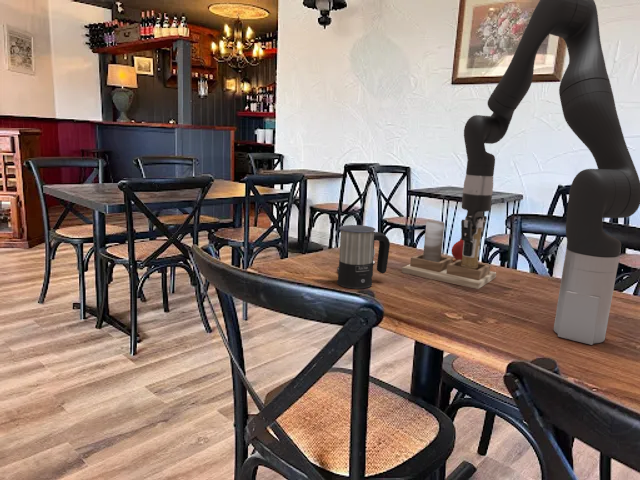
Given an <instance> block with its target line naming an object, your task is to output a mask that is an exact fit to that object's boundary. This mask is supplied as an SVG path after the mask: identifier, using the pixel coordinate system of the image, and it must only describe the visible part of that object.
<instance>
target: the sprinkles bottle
mask: <svg viewBox="0 0 640 480" xmlns="http://www.w3.org/2000/svg"><path fill="white" fill-rule="evenodd" d="M482 226H483V221H482V220H481V222H480V224H479V225H478V232H477V235H475V237H474V242H473V250H472V256H464V255H463V253H462V264H461V266H462V267H465V268H470V269H477V268H478V263H479V255H480V248H481V246H480V245H481V239H482V237H481V229H482ZM474 230H475V229H474ZM474 230H473V229H472V231H474ZM467 237H469V234H468V236H467ZM480 238H481V239H480ZM463 251H464V243H463Z"/></svg>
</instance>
